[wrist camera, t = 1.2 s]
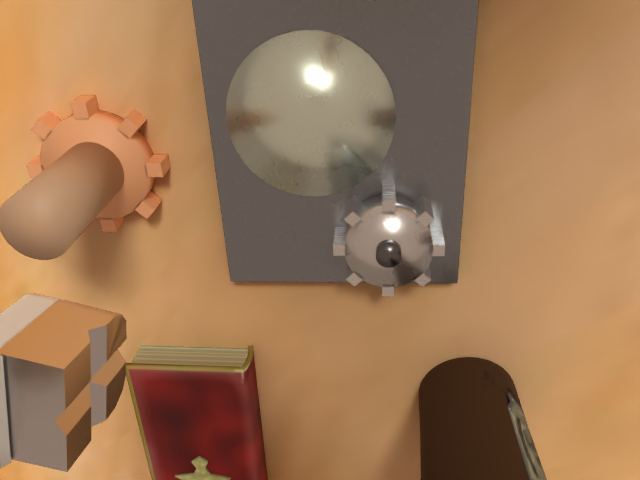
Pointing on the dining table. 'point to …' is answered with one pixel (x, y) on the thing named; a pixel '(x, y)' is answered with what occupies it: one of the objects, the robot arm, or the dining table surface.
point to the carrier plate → (339, 136)
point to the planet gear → (82, 179)
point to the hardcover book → (198, 412)
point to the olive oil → (474, 425)
